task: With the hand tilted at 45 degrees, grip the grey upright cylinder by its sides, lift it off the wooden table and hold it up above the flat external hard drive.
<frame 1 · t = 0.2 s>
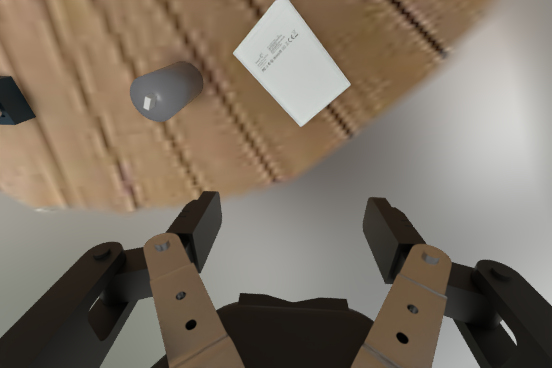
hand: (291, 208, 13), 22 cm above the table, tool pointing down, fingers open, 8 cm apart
watch: (10, 97, 33), on the table
grey upright cylinder: (186, 80, 30), on the table
external hard drive: (292, 67, 30), on the table
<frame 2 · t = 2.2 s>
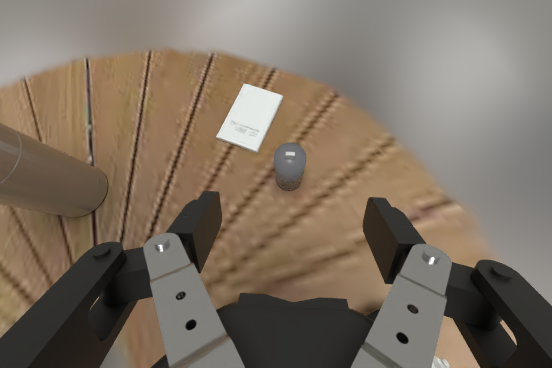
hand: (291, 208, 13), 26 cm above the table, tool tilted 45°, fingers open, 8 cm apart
watch: (380, 328, 33), on the table
grey upright cylinder: (288, 178, 40), on the table
external hard drive: (251, 120, 45), on the table
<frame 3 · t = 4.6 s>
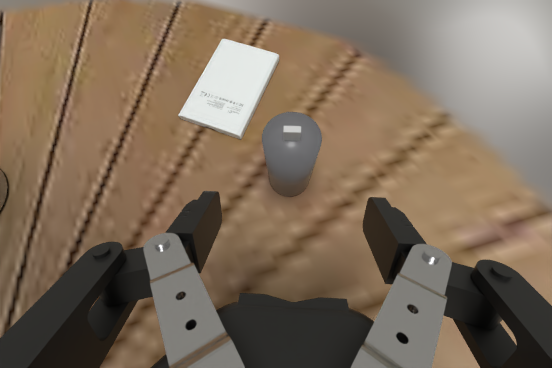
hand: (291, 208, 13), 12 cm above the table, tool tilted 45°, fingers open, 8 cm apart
grey upright cylinder: (289, 177, 26), on the table
external hard drive: (232, 92, 30), on the table
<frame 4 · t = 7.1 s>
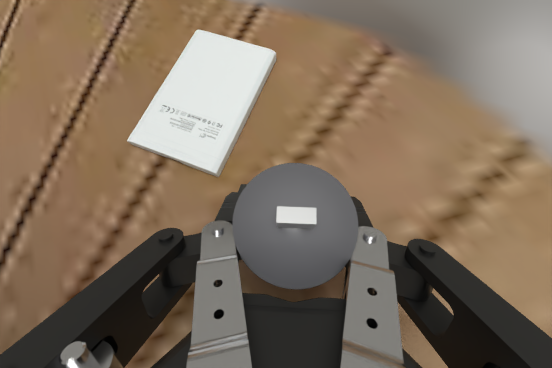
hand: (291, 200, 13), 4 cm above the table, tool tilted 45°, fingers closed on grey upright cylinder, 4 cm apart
grey upright cylinder: (289, 239, 17), on the table, touching gripper
external hard drive: (210, 105, 21), on the table
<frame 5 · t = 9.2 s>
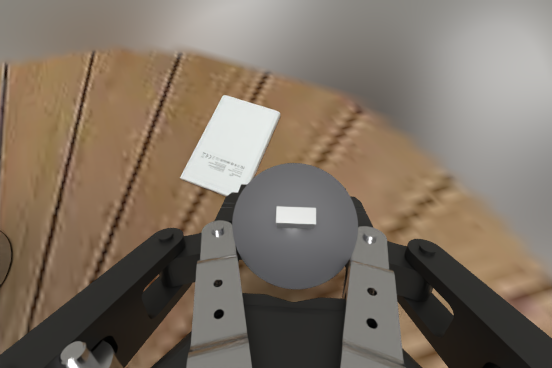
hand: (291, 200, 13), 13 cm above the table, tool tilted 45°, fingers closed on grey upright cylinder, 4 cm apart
grey upright cylinder: (289, 239, 17), point 9 cm above the table, touching gripper
external hard drive: (234, 149, 30), on the table
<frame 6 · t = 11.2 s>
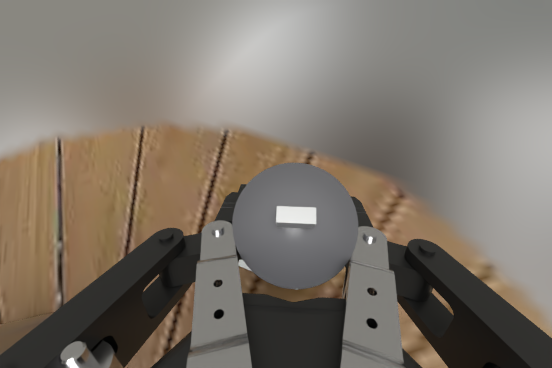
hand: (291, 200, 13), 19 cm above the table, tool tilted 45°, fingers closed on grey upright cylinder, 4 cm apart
grey upright cylinder: (289, 239, 17), point 15 cm above the table, touching gripper
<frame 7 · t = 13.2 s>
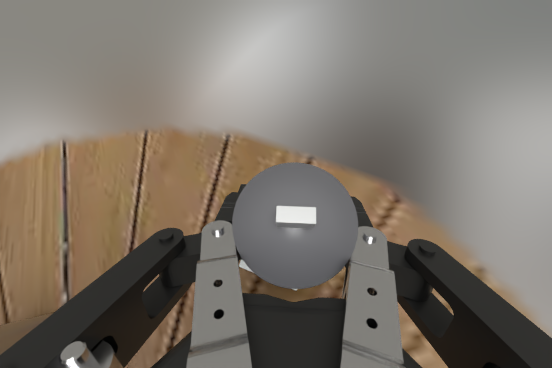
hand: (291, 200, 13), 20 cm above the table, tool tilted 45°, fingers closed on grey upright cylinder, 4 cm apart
grey upright cylinder: (289, 239, 17), point 16 cm above the table, touching gripper
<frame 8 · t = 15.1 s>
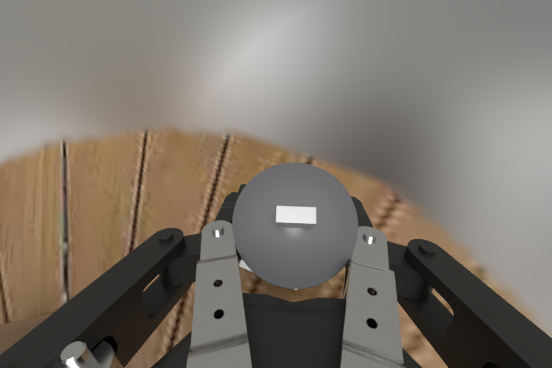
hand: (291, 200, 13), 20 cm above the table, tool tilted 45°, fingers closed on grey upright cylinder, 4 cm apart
grey upright cylinder: (289, 239, 17), point 16 cm above the table, touching gripper
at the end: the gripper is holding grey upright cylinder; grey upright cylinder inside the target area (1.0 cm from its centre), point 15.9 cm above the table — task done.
